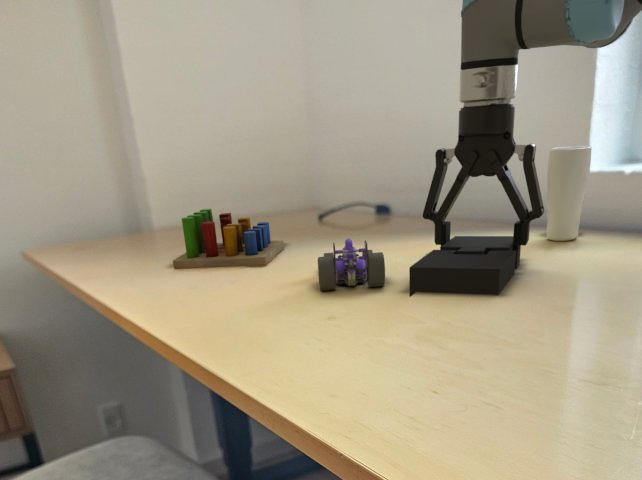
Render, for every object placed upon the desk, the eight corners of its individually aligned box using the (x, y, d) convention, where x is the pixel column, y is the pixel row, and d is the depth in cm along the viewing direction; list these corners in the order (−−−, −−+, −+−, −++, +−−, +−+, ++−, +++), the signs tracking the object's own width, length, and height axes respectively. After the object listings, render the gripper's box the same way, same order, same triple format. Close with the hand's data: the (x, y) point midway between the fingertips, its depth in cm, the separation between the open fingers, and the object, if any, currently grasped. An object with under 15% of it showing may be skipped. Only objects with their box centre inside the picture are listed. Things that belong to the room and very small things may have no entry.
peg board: (266, 266, 116) (261, 215, 112) (173, 270, 119) (164, 221, 115) (284, 247, 131) (280, 202, 127) (201, 251, 134) (195, 207, 130)
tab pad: (434, 278, 97) (435, 250, 95) (454, 261, 106) (455, 236, 105) (503, 280, 93) (505, 251, 91) (517, 262, 102) (519, 236, 101)
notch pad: (409, 296, 90) (409, 267, 89) (433, 276, 100) (433, 249, 98) (498, 300, 85) (500, 269, 84) (514, 278, 95) (516, 250, 93)
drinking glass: (555, 234, 122) (563, 146, 116) (589, 237, 118) (600, 145, 111) (534, 240, 119) (541, 149, 112) (568, 243, 114) (578, 149, 107)
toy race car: (376, 267, 108) (375, 226, 105) (385, 289, 95) (384, 243, 92) (319, 272, 109) (316, 231, 106) (319, 294, 95) (316, 248, 92)
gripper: (400, 110, 92) (401, 270, 102) (571, 97, 83) (553, 274, 93) (415, 109, 98) (415, 260, 108) (577, 96, 89) (560, 262, 99)
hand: (479, 266), depth 101 cm, fingers closed on tab pad, 10 cm apart
